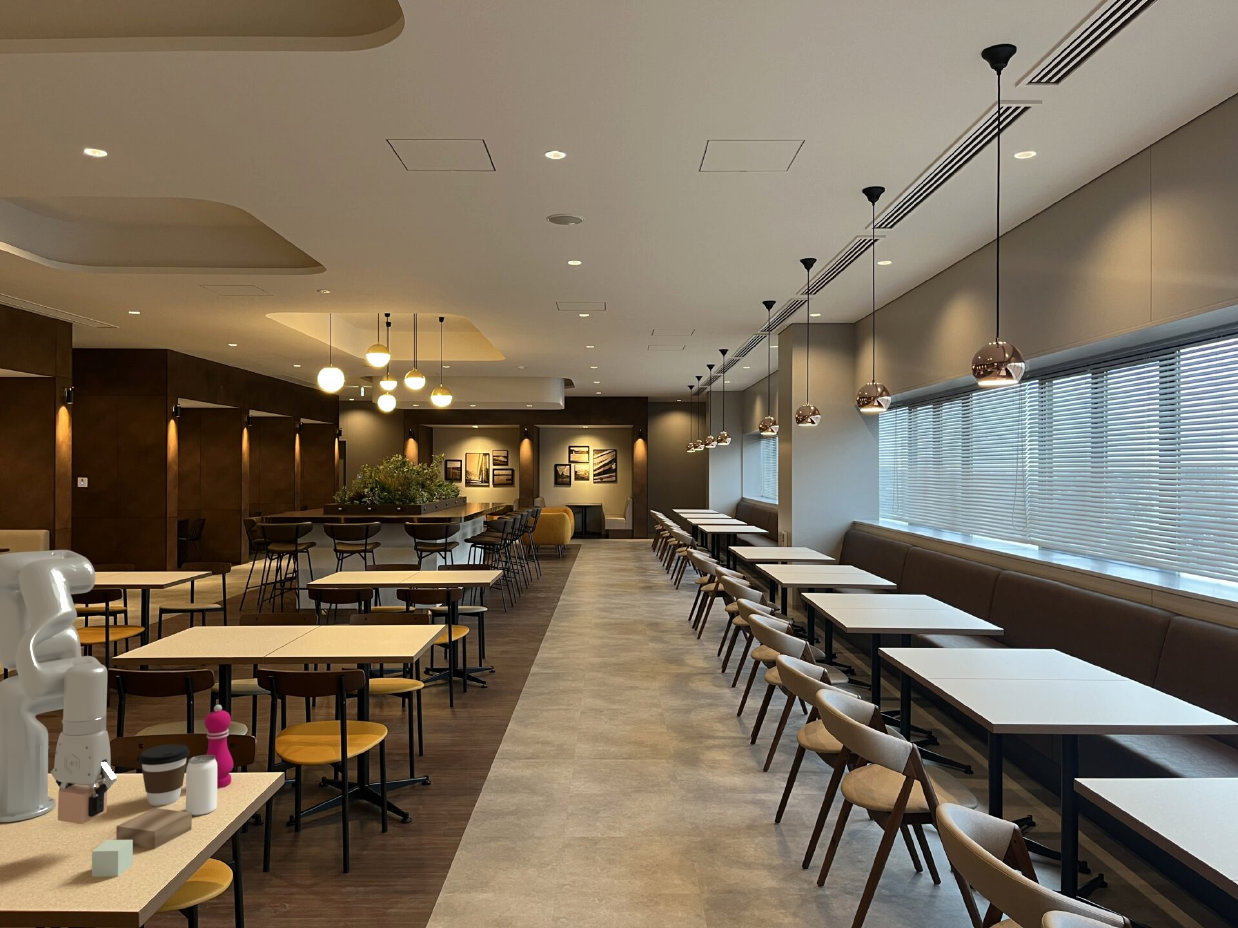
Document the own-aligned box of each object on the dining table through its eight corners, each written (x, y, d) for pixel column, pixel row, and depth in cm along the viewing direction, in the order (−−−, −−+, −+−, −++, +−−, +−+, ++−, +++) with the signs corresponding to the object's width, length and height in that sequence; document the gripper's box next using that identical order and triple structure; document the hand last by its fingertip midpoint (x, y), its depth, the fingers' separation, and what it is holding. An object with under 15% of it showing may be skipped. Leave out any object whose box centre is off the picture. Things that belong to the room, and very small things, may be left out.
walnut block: (116, 844, 174) (116, 825, 174) (154, 825, 184) (154, 807, 184) (154, 850, 172) (154, 831, 172) (191, 830, 181) (191, 812, 181)
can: (204, 817, 188) (204, 764, 188) (179, 814, 189) (179, 762, 189) (223, 806, 194) (223, 754, 194) (199, 804, 195) (199, 753, 195)
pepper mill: (214, 778, 212) (215, 700, 212) (239, 780, 211) (239, 701, 211) (194, 788, 205) (195, 707, 205) (220, 790, 204) (220, 709, 204)
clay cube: (57, 820, 168) (58, 790, 168) (83, 808, 174) (83, 779, 174) (81, 823, 167) (82, 794, 167) (106, 811, 173) (107, 783, 173)
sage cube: (91, 877, 160) (92, 851, 160) (107, 865, 165) (107, 839, 165) (118, 876, 160) (118, 850, 160) (132, 864, 165) (132, 839, 165)
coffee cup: (194, 801, 197) (195, 751, 197) (142, 813, 190) (143, 761, 190) (183, 788, 205) (184, 740, 205) (133, 799, 198) (134, 749, 198)
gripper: (34, 726, 169) (32, 814, 169) (104, 735, 165) (101, 825, 165) (66, 715, 176) (64, 799, 176) (134, 723, 172) (132, 809, 172)
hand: (82, 811), depth 171 cm, fingers closed on clay cube, 6 cm apart
